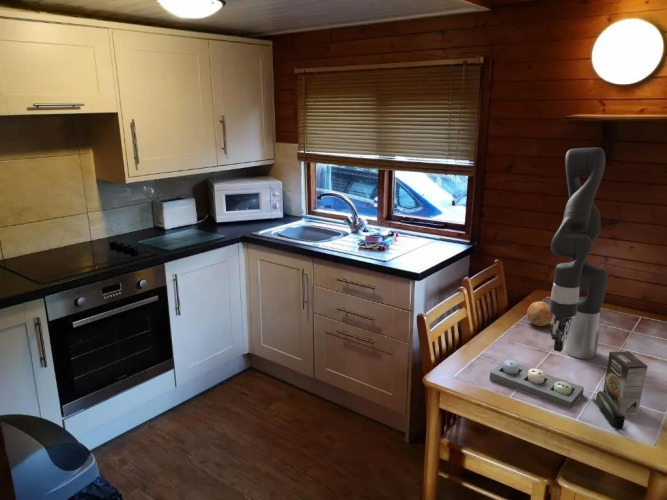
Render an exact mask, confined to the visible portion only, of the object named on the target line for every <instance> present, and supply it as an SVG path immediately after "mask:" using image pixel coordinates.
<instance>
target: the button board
mask: <svg viewBox="0 0 667 500" xmlns="http://www.w3.org/2000/svg"><path fill="white" fill-rule="evenodd" d="M506 360H507V359H504V360H503V361H502V362H501V363H499V364H498V365H497V366H495V367H494V369H492V370H491V371H490V372H489V373H490V374H489V380H491V381H495V382H497V383H500V384H502V385H504V386H506V387H510V388H513V389H516V390H517V391H520V392H523V393H525V394H528V395H531V396H534V397H537V398H539V399H542V400H544V401H546V402H549V403H552V404H555V405H557V406H559V407H562V408H566V409H567V410H571V409H572V408H573V406H575V404H577V402H578V401H579V400H580V399H581V397H582V396H583V395H584V390H585V386H581V385H579V384H575V383H572V382H569V381H568V380H565V379H561V378H559V377H556V376H553V375H550V374H547V373H545V378H544V383H543V384H542V385H536V384H533V383H530V382H528V380H527V378H528V370H530V369H531V368H530V367H526V366H524V365H521V364H519V372H518V375H515V376H511V375H508V374H506V373H503V362H504V361H506ZM558 381H562V382H566V383H568V384H570V385H571V386H572V391H571V395H570V396H566V395H563V394H560V393H558V392H555V391H554V384H555V382H558Z"/></svg>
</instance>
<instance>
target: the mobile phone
mask: <svg viewBox="0 0 667 500" xmlns="http://www.w3.org/2000/svg"><path fill="white" fill-rule="evenodd" d="M592 401H593V402H594V403H595V405H597V407H598V409H599V410H600V412H601V413H602V415H603V416H604V418H605V419H606V420H607V422H608V424H609V425H610V427H612V428H613V429H615V430H619V431H620V430H621V431H622V430H624V423H625V419H626V418H625V415H623V414H622V413H621V412H620V410H619V409H618V408H617V406H616V405H615V404H614V403H613V401H612V399H611V397H610V396H609V395H608V394H606V393H605V392H603V391H601V390H599V391H597V392H596V396H595V398H594V397H593V398H592Z"/></svg>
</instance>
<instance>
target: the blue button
mask: <svg viewBox="0 0 667 500" xmlns="http://www.w3.org/2000/svg"><path fill="white" fill-rule="evenodd" d="M505 360H506V361H504V360H503V361H504V362H503V361H502V362H503V373H506V374H508V375H511V376H514V377H516V376H517V375H518V372H519V365H520V363H519V362H517V360H511V359H505Z"/></svg>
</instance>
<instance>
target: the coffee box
mask: <svg viewBox="0 0 667 500" xmlns="http://www.w3.org/2000/svg"><path fill="white" fill-rule="evenodd" d="M605 371H606V372H605V377H604V383H603V389H602V390H603V392H605V393H606V394H608V395H609V396H610V397H611V399H612V401H613V403H614V404H615V405H616V406H617V408H618V409H619V410H620V412H621V413H622V414H623V415H624V416H625V415H637V414H639V411H640V405H641V400H642V395H643V390H644V387H645V386H644V385H645V381H646V376H647V371H648V365H647V364H646V363H644V362H643V361H641V360H640V359H639V358H638V357H637V356H635V355H634V354H633V353H631V352H630V351H628V350H626V351H619V350H617V351H609V353H608V360H607V365H606V370H605Z"/></svg>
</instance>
